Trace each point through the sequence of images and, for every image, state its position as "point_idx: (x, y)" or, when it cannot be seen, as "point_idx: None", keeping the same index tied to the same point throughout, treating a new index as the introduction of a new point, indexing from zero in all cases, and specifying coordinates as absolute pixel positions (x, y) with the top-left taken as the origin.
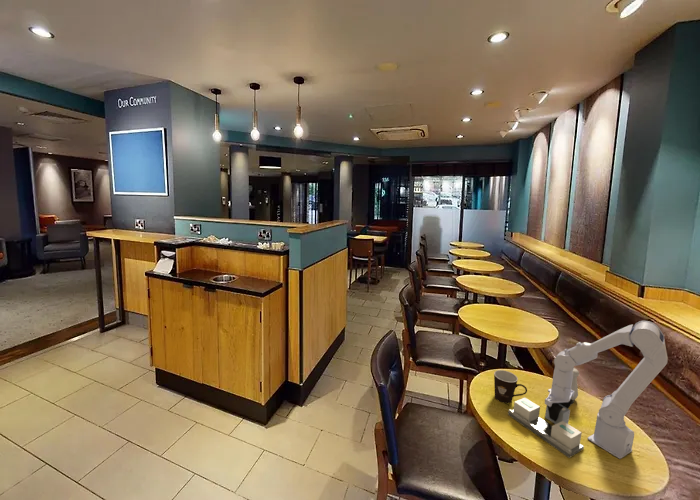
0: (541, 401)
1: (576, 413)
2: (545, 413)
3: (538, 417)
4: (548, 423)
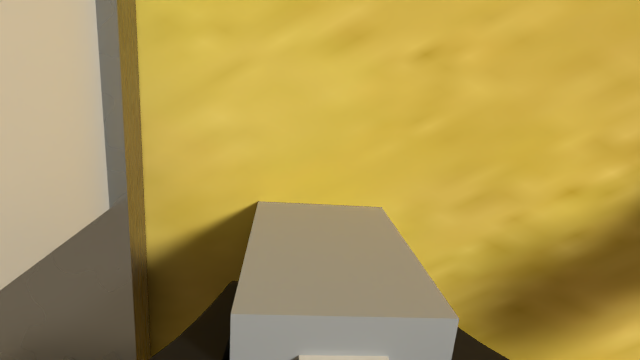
0: (542, 6)
1: (614, 316)
2: (255, 220)
3: (103, 211)
4: (128, 318)
